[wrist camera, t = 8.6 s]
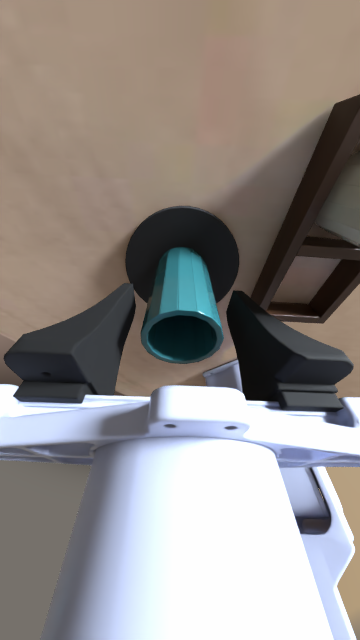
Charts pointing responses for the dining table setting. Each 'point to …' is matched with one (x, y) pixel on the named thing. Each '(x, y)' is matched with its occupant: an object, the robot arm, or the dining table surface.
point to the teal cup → (181, 310)
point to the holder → (319, 178)
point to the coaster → (182, 231)
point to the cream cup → (344, 204)
